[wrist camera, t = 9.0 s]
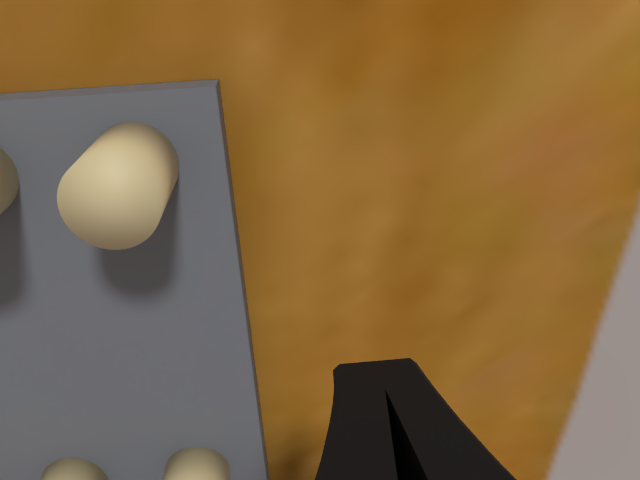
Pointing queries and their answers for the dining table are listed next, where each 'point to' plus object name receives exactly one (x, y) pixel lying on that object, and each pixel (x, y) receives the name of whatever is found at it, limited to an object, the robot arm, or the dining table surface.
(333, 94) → the dining table surface
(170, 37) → the dining table surface
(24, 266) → the board
